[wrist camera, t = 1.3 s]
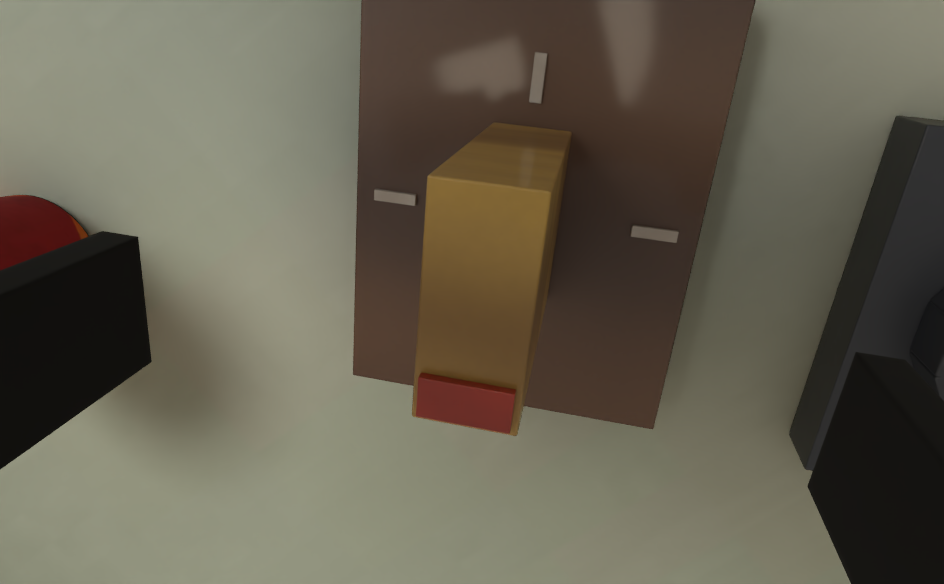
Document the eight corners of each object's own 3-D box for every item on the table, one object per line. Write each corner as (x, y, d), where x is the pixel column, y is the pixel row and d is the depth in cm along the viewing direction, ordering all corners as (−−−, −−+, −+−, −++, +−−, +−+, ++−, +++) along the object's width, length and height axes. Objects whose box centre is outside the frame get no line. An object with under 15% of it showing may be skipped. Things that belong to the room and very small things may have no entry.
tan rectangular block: (493, 122, 20) (423, 177, 12) (572, 131, 19) (550, 194, 12) (476, 288, 22) (408, 423, 14) (547, 299, 21) (515, 443, 14)
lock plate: (393, -37, 21) (360, -47, 19) (737, -6, 20) (760, -13, 17) (378, 340, 27) (351, 377, 24) (648, 387, 25) (653, 432, 22)
